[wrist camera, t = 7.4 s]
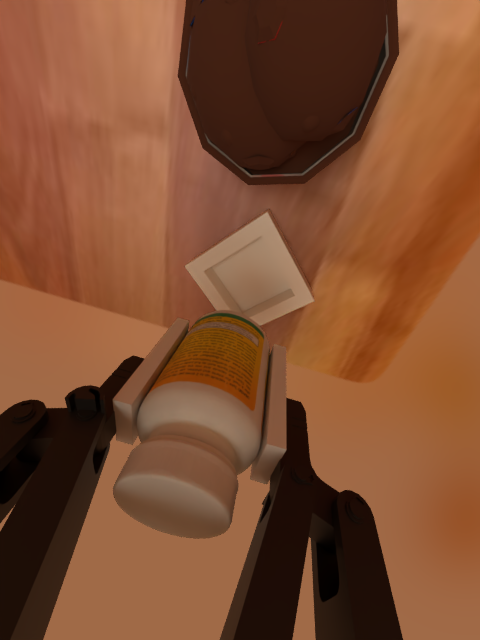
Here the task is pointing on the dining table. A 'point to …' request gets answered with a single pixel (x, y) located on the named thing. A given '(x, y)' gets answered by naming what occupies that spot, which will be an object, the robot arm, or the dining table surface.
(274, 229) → the holder
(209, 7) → the ice cream bowl
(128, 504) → the supplement bottle
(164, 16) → the dining table surface
